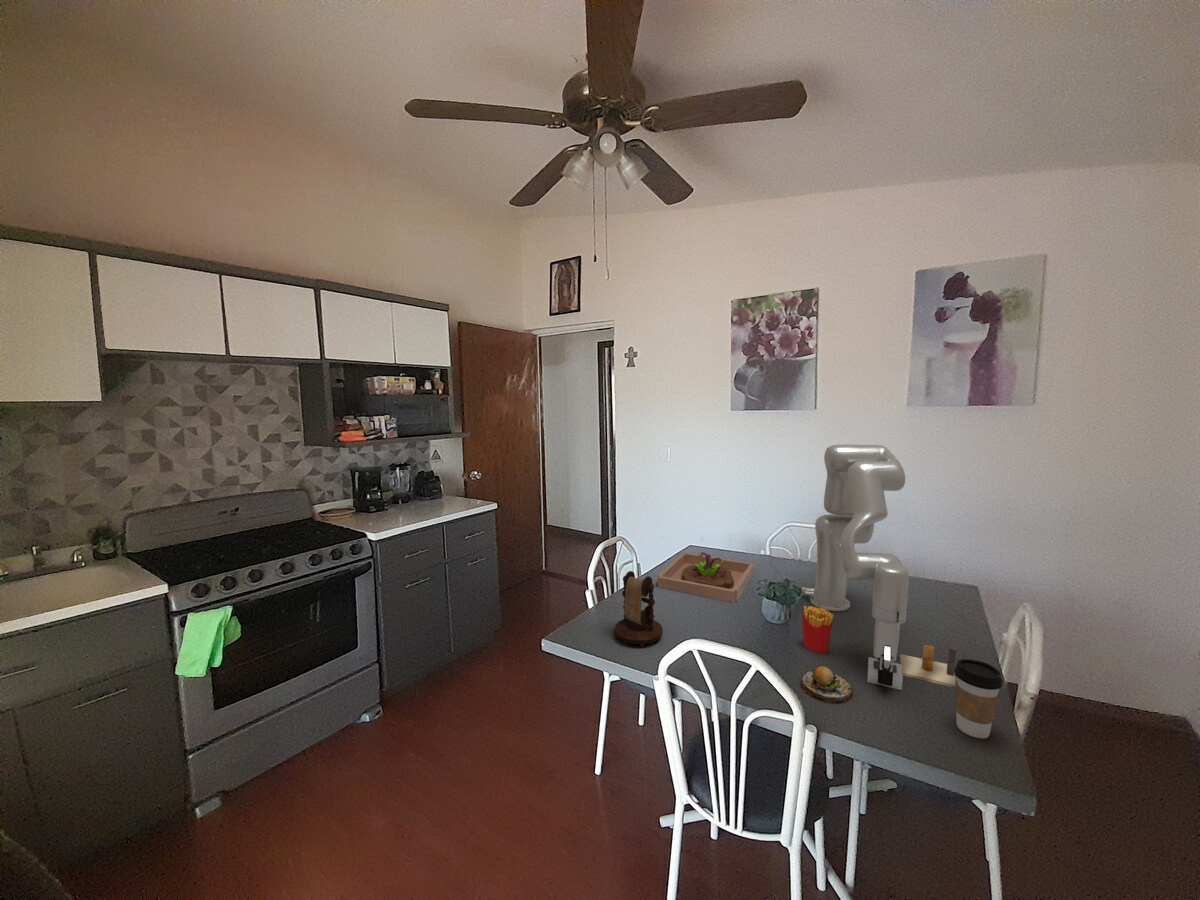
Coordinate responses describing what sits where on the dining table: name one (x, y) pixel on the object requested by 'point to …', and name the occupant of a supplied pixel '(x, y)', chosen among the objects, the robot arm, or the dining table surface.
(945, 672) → the keeper
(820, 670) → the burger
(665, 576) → the plant saucer
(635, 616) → the scroll
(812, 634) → the french fries
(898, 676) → the link
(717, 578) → the plant
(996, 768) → the dining table surface
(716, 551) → the dining table surface
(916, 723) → the dining table surface
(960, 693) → the coffee cup
